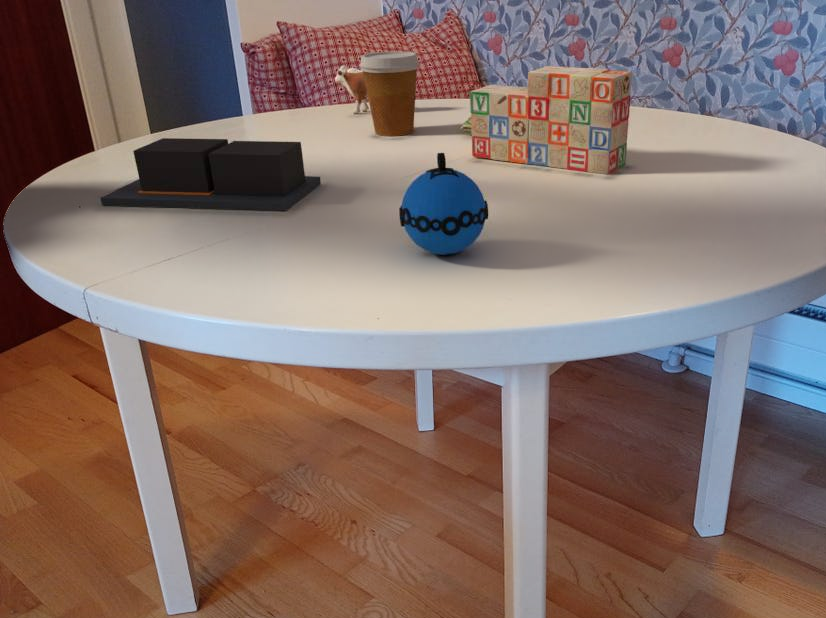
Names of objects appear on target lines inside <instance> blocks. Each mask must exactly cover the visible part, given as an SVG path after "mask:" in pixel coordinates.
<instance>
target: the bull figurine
mask: <svg viewBox="0 0 826 618" xmlns="http://www.w3.org/2000/svg"><path fill="white" fill-rule="evenodd" d="M334 82H335V83H340V84H341V85H342V86H343V87H345V88H346V90H347V92H348V94H350V95H351V96H352V98H354V99H356V100H355V109H354V110H353V112H352V114H353V115H358V114H359V113H361V112H367V111H368V110H369V109H370V106H368V105H369V104H368V102H367V101H368V94H367V89H366V84H365V79H364V75H363V71H362V70H361V69H358V68H356V67H350V68H348V66H346V65H341V66H340V67H339V69H337V71H336V76H335V77H334ZM362 104H363V107H362V110H361V109H360V107H361V105H362Z"/></svg>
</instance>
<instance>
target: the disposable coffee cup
mask: <svg viewBox="0 0 826 618" xmlns="http://www.w3.org/2000/svg"><path fill="white" fill-rule="evenodd" d="M419 65H420V61H419V60H418V58H417V53H416V52H412V51H401V50H400V51H395V50H393V51H392V50H391V51H379V52H370V53H365V54H362V55H361V57H360V63H359V64H358V66H359V67H360V70H362V71H363V75H364V79H365V84H366V89H367V94H368V97H367V100H368V103H369V104H368V105H369V109H370V114H371V119H372V124H373V128H374V133H375V135H379V136H384V137H397V136H406V135H410V134H412V133H414V130H415V129H414V127H415V110H416V94H417V93H416V92H417V75H418V69H419Z"/></svg>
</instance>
